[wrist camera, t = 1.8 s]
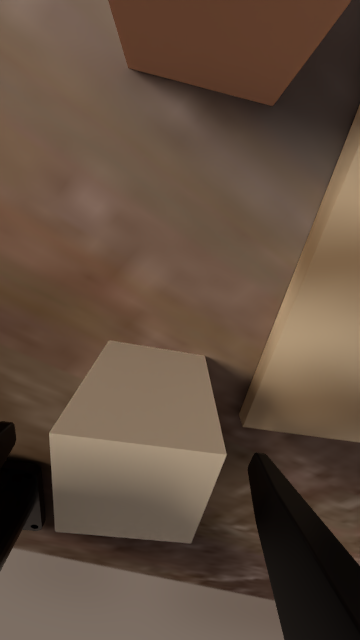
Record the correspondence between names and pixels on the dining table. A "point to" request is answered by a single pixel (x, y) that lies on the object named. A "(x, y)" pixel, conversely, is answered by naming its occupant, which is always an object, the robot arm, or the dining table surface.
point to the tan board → (318, 323)
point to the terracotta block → (224, 41)
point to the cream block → (137, 446)
